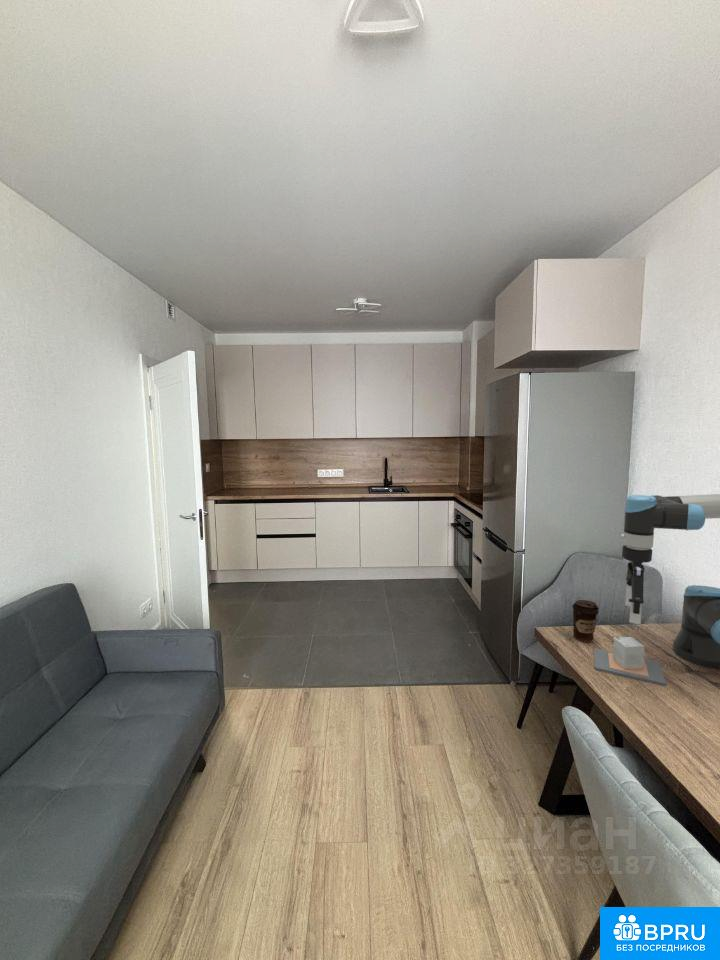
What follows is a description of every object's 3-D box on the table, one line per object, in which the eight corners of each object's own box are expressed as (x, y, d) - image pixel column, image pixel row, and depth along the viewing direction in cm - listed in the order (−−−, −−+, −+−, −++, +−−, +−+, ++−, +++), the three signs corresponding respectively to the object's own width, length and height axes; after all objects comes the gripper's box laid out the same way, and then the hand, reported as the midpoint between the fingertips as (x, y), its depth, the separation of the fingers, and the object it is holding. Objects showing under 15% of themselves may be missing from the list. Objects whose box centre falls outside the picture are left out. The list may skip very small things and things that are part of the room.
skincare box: (643, 669, 128) (645, 646, 127) (623, 669, 128) (625, 646, 127) (630, 658, 134) (632, 636, 133) (611, 658, 134) (613, 636, 133)
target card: (658, 664, 133) (659, 661, 133) (666, 686, 121) (666, 683, 121) (593, 650, 141) (594, 647, 141) (594, 669, 130) (595, 666, 130)
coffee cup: (602, 644, 145) (605, 608, 143) (577, 644, 145) (580, 608, 143) (589, 632, 153) (591, 598, 152) (566, 632, 154) (568, 598, 152)
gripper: (619, 535, 139) (615, 597, 142) (626, 556, 117) (621, 628, 120) (646, 538, 136) (642, 601, 138) (659, 559, 114) (653, 634, 116)
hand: (632, 614), depth 129 cm, fingers open, 13 cm apart
